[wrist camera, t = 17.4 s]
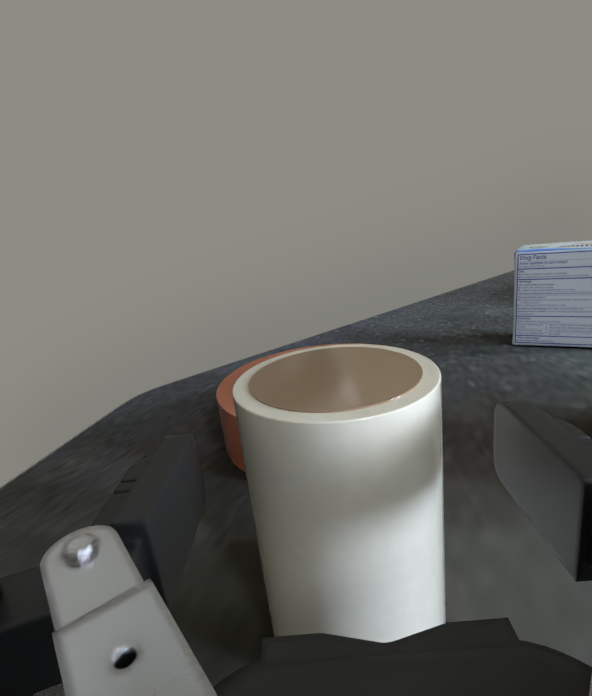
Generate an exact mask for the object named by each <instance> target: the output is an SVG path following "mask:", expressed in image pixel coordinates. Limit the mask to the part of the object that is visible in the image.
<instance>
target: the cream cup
mask: <svg viewBox="0 0 592 696" xmlns="http://www.w3.org/2000/svg"><path fill="white" fill-rule="evenodd" d="M232 394H233V401H234V407H235V413H236V419H237V424H238V430H239V436H240V442H241V448H242V454H243V460H244V466H245V472H246V477H247V483H248V489H249V495H250V501H251V507H252V513H253V519H254V525H255V530H256V536H257V542H258V548H259V554H260V560H261V566H262V572H263V578H264V583H265V589H266V595H267V601H268V607H269V613H270V619H271V625H272V631H273V634H274V637H276V636H288V635H301V634H313V633H326V634H332V635H338V636H344V637H350V638H356V639H363V640H369V641H375V642H382V643H387V642H392V641H395V640H398V639H401V638H404V637H407V636H410V635H413V634H415V633H418V632H421V631H424V630H427V629H430V628H433V627H436V626H438V625H441V624H444V623H446V598H445V544H444V489H443V434H442V379H441V372H440V370H439V368H438V367H437V365H436V364H435V363H434V362H433V361H431V360H430V359H428V358H427V357H425V356H423V355H420V354H418V353H415V352H412V351H409V350H405V349H401V348H396V347H390V346H382V345H368V344H346V345H331V346H322V347H315V348H309V349H304V350H299V351H295V352H291V353H287V354H283V355H280V356H277V357H274V358H271V359H269V360H266V361H264V362H262V363H260V364H258V365H256V366H254V367H252V368H250V369H249V370H247V371H246V372H245V373H243V374H242V375H241V376H240V377H239V378H238V379H237V381H236V382H235V384H234V386H233V390H232Z"/></svg>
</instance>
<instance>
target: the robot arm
mask: <svg viewBox="0 0 592 696" xmlns="http://www.w3.org/2000/svg"><path fill="white" fill-rule="evenodd" d="M494 465H495V469H496V473H497V475H498V478H499V479H500V481H501V483H502V484H503V485H504V487H505V488H506V489H507V491H508V492H509V493H510V495H511V496H512V497H513V499H514V500H515V501H516V502H517V504H518V505H519V506H520V508H521V509H522V510H523V512H524V513H525V514H526V516H527V517H528V518H529V520H530V521H531V522H532V524H533V525H534V526H535V528H536V529H537V530H538V532H539V533H540V534H541V536H542V537H543V538H544V540H545V541H546V542H547V544H548V545H549V546H550V548H551V549H552V550H553V552H554V553H555V554H556V556H557V557H558V558H559V560H560V561H561V562H562V564H563V565H564V566H565V568H566V569H567V570H568V572H569V573H570V574H571V576H572V577H573V578H574V579H575V581H576V582H577V581H589V580H592V439H589V436H588V435H586V434H585V433H584V432H583V431H581V430H580V429H579V428H577V427H576V426H575V425H573V424H570V423H568V422H565V421H563V420H561V419H558V418H556V417H549V416H548V415H547V414H546V413H544V412H543V411H542V410H541V409H539V408H538V407H537V406H536V405H535V404H533V403H532V402H531V401H528V400H525V401H516V402H506V403H498V404H497V405H496V407H495V411H494ZM204 505H205V485H204V480H203V475H202V470H201V465H200V460H199V455H198V450H197V445H196V441H195V438H194V436H193V435H192V434H183V435H173V436H164V437H163V438H162V439H161V441H160V442H159V444H158V446H157V447H156V449H155V450H154V452H153V454H152V455H151V456H146V457H143V458H142V459H141V460H139V461H138V462H137V463H136V464H134V465H133V466H132V467H130V468H129V470H128V471H127V473H126V474H125V476H124V477H123V479H122V480H121V483H120V484H119V485H118V486H117V488H116V489H115V490H114V494H112V495H111V496H110V498H109V499H108V501H107V502H106V504H105V505H104V507H103V508H102V510H101V511H100V513H99V514H98V516H97V517H96V519H95V520H94V522H93V523H92V525H91V526H90V527H86V528H83V529H80V530H77V531H75V532H72V533H70V534H68V535H67V536H65V537H63V538H62V539H60V540H59V541H58V542H56V543H55V544H54V545H53V546H52V547H50V549H49V550H48V551H47V552H46V553H45V555H44V556H43V558H42V560H41V563H40V566H38V567H35V568H32V569H29V570H26V571H23V572H19V573H16V574H13V575H10V576H6V577H3V578H0V696H32V695H33V694H34V693H36V692H39V691H41V690H44V689H47V688H49V687H52V686H54V685H57V684H60V683H62V682H63V686H64V690H65V695H66V696H592V667H590V666H588V665H587V664H585V663H583V662H581V661H579V660H577V659H575V658H573V657H571V656H569V655H567V654H564V653H562V652H560V651H557V650H554V649H551V648H549V647H546V646H542V645H539V644H535V643H531V642H527V641H521V640H519V639H518V637H517V635H516V633H515V631H514V629H513V627H512V625H511V623H510V621H509V619H508V618H499V619H486V620H474V621H461V622H449V623H444V624H441V625H438V626H436V627H433V628H430V629H427V630H424V631H421V632H418V633H415V634H413V635H410V636H407V637H404V638H401V639H398V640H395V641H392V642H387V643H382V642H375V641H369V640H363V639H356V638H350V637H344V636H338V635H332V634H326V633H313V634H301V635H288V636H276V637H264V638H262V648H261V659H260V660H259V661H256V662H254V663H251V664H249V665H247V666H245V667H243V668H241V669H239V670H237V671H235V672H233V673H232V674H230V675H229V676H227V677H225V678H224V679H223V680H221V681H220V682H219V683H218V684H216V685H215V686H214V687H212V685H211V683H210V682H209V680H208V678H207V676H206V675H205V673H204V671H203V669H202V668H201V666H200V664H199V662H198V661H197V659H196V657H195V655H194V654H193V652H192V650H191V648H190V647H189V645H188V643H187V641H186V640H185V638H184V636H183V634H182V633H181V631H180V629H179V627H178V626H177V624H176V622H175V620H174V619H173V617H172V615H171V613H170V610H171V607H172V604H173V601H174V598H175V595H176V592H177V589H178V586H179V583H180V580H181V576H182V573H183V570H184V567H185V564H186V561H187V558H188V555H189V552H190V549H191V546H192V543H193V540H194V537H195V534H196V531H197V528H198V525H199V522H200V518H201V515H202V512H203V509H204Z"/></svg>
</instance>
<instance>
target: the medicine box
mask: <svg viewBox="0 0 592 696" xmlns="http://www.w3.org/2000/svg"><path fill="white" fill-rule="evenodd" d="M512 344H513V345H536V346H564V347H589V348H592V241H577V242H576V241H575V242H560V243H547V244H533V245H521V246H520V247H519V248H518V250H517V251H516V252H515V274H514V305H513V338H512Z"/></svg>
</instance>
